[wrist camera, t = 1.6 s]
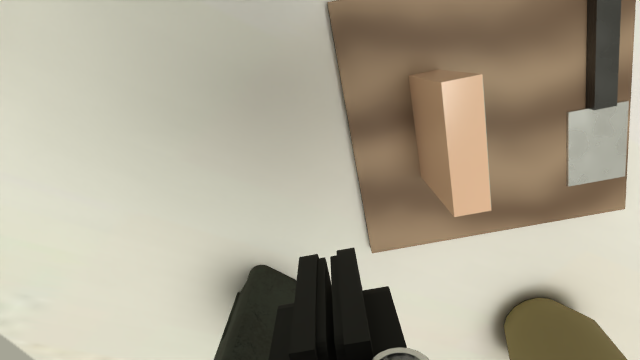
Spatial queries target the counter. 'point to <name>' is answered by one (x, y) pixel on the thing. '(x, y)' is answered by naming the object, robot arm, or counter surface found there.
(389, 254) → the counter surface
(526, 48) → the board
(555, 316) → the squeeze bottle
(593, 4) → the turner
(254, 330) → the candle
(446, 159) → the tile
